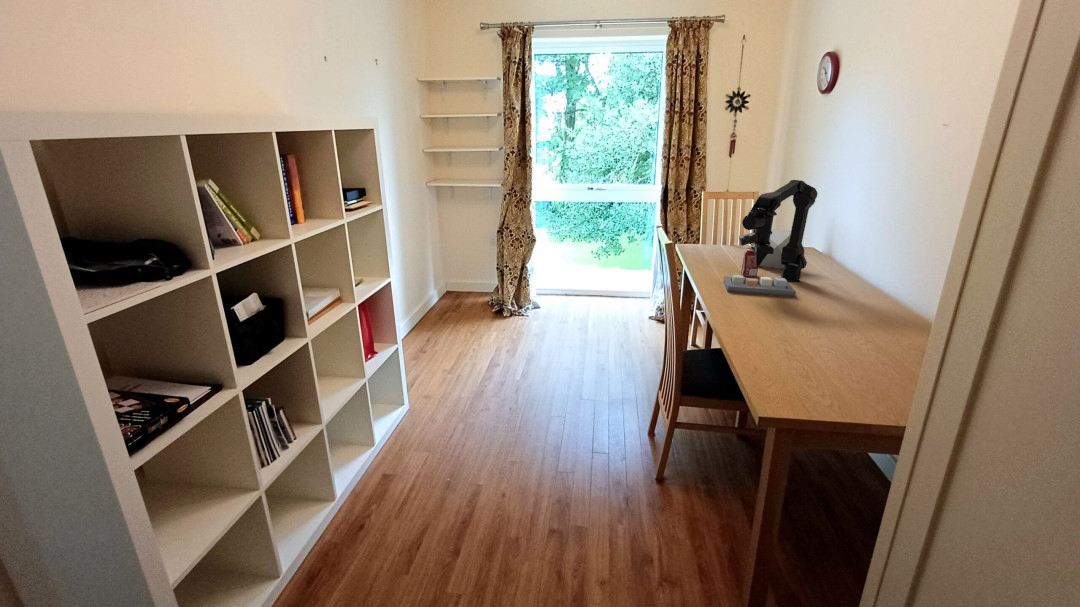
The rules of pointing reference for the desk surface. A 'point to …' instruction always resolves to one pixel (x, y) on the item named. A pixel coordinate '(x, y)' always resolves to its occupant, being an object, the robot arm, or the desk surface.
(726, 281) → the keypad board
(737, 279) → the key sage
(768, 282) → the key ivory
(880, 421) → the desk surface
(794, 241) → the robot arm
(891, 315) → the desk surface
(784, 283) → the key slate
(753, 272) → the soda can
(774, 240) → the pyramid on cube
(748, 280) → the key terracotta
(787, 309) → the desk surface
